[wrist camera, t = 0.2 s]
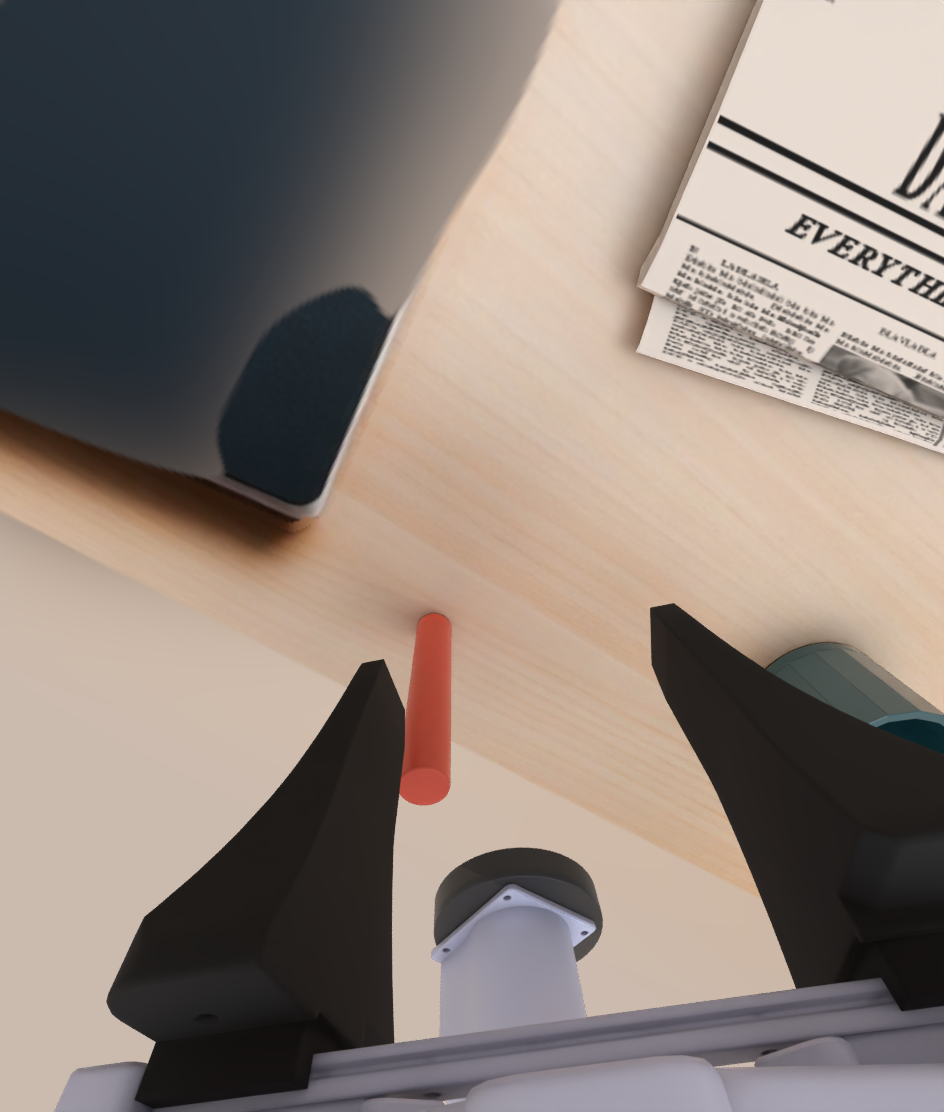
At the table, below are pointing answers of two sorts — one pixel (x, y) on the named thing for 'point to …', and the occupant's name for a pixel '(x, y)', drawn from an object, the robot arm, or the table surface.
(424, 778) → the red wooden dowel
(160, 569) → the table surface
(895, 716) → the cup
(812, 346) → the newspaper
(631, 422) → the table surface
